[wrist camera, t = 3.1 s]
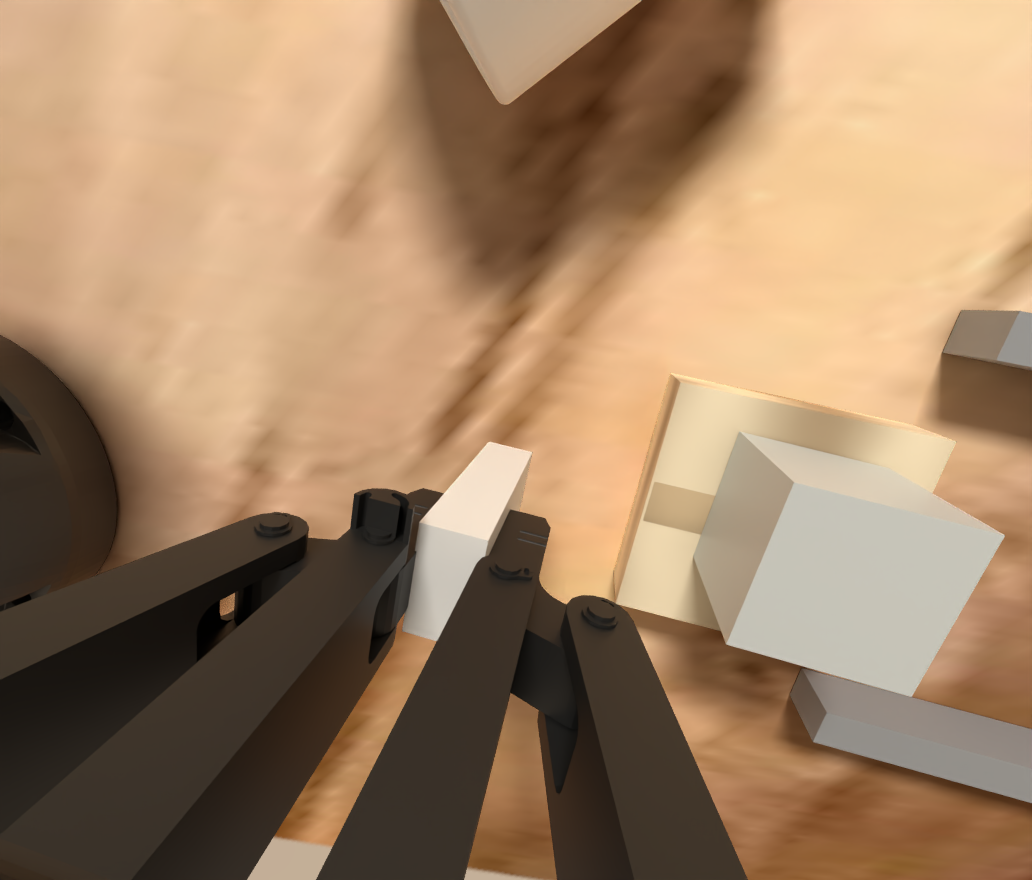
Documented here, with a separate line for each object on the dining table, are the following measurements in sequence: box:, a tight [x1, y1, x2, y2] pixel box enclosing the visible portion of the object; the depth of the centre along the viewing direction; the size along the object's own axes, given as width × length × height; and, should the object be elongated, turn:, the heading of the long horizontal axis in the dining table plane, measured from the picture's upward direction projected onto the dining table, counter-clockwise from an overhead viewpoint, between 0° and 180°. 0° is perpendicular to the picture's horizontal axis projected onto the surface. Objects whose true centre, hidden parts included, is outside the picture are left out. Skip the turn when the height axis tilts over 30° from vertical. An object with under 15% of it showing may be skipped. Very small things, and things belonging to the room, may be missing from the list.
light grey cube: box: [693, 431, 1005, 697], centre depth 15 cm, size 5×5×5 cm
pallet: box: [614, 373, 957, 631], centre depth 19 cm, size 9×9×3 cm
